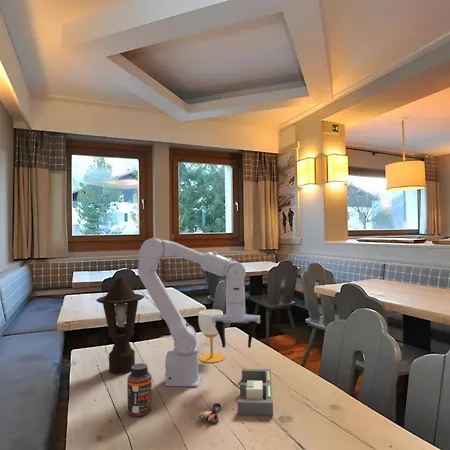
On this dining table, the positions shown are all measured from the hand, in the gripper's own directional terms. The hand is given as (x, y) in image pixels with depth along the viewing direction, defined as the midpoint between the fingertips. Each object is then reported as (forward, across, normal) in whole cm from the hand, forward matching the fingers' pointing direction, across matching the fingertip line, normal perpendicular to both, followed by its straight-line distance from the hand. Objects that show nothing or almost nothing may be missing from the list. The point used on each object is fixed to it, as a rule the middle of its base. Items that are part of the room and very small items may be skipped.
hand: (236, 346), depth 108 cm
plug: (+10, +6, -16) cm, 19 cm away
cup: (+10, -10, +16) cm, 21 cm away
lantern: (+10, -38, +5) cm, 40 cm away
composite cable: (+10, -4, -22) cm, 24 cm away
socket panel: (+9, +6, -11) cm, 16 cm away
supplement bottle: (+10, -23, -21) cm, 33 cm away
